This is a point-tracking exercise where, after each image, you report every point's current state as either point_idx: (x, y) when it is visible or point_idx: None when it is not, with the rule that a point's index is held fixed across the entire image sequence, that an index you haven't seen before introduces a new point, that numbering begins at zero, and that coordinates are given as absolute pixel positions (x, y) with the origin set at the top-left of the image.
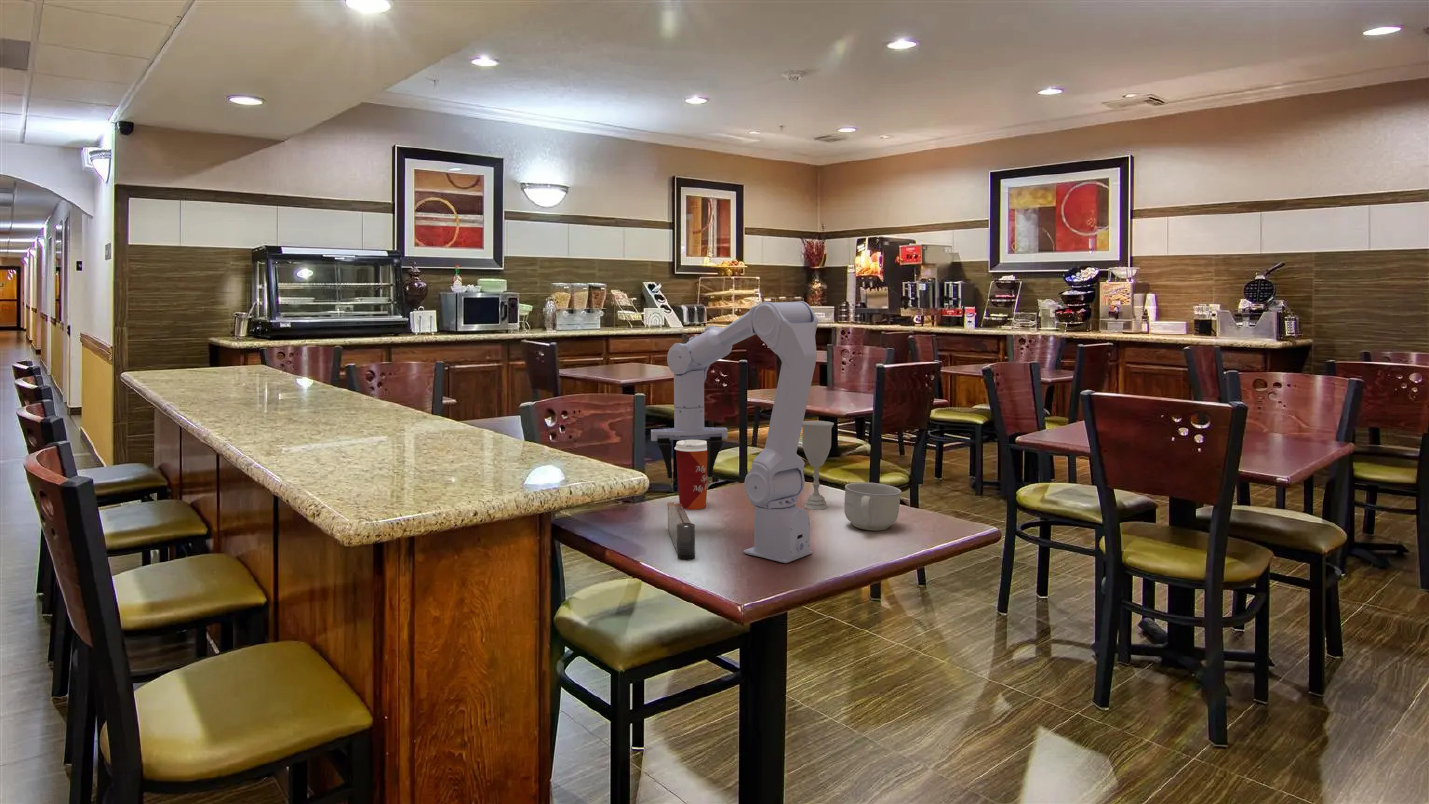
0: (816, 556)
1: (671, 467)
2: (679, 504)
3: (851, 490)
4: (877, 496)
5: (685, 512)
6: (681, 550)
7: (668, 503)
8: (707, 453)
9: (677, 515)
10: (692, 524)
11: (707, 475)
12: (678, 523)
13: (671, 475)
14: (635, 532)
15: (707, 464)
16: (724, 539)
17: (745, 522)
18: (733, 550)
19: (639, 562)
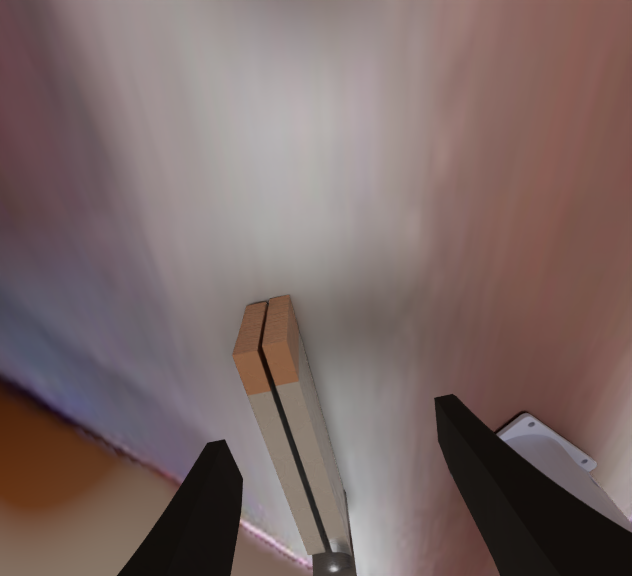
0: (594, 468)
1: (232, 554)
2: (282, 354)
3: None
4: None
5: (317, 445)
6: None
7: (239, 369)
8: (513, 520)
9: (298, 492)
10: (350, 574)
11: (436, 415)
12: (311, 547)
13: (238, 499)
14: (155, 338)
15: (466, 457)
16: (416, 381)
17: (508, 200)
18: (430, 450)
19: None
